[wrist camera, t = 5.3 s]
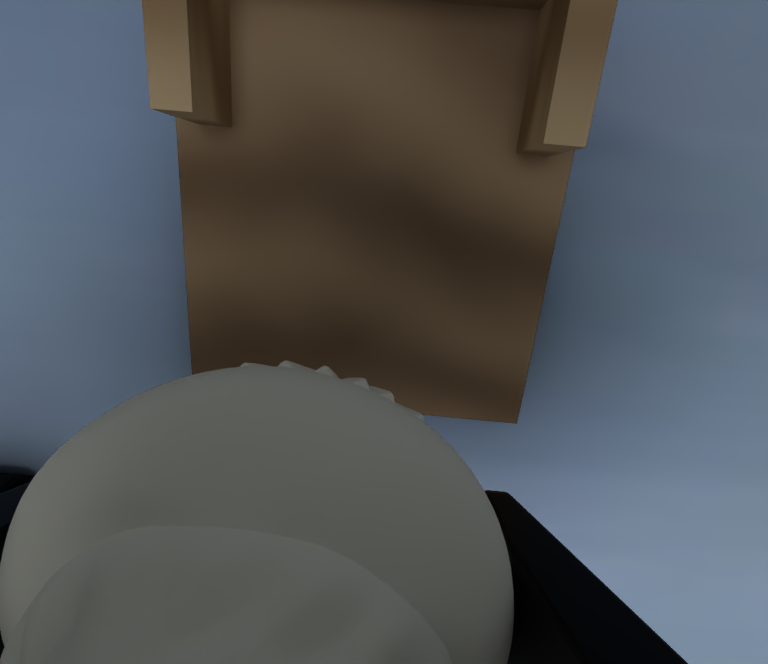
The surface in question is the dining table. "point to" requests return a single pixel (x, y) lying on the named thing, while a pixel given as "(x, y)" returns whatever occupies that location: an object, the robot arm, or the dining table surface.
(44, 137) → the dining table surface
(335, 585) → the muffin
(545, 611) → the robot arm
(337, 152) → the channel bracket
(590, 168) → the dining table surface
